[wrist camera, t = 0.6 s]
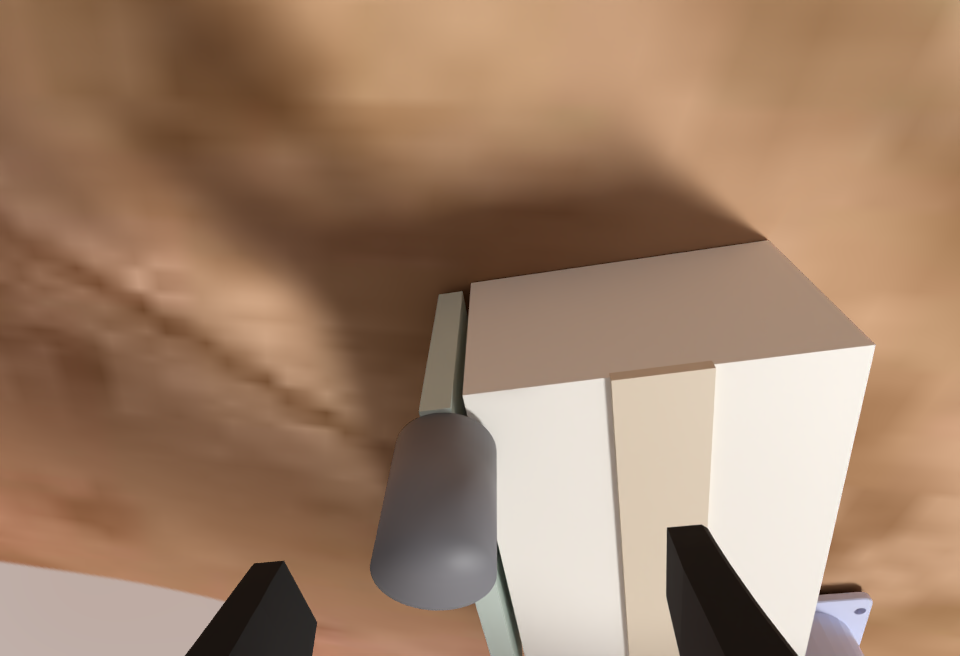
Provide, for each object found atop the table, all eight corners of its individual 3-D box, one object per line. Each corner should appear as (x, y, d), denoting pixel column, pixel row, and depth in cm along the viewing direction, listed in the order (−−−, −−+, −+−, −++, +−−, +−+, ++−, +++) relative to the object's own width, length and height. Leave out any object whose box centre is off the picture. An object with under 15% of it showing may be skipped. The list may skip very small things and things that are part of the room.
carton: (740, 530, 25) (804, 676, 20) (525, 550, 26) (532, 693, 21) (768, 238, 18) (881, 348, 13) (470, 281, 19) (461, 399, 14)
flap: (537, 549, 26) (557, 810, 18) (481, 554, 26) (475, 813, 18) (489, 287, 19) (484, 521, 11) (412, 298, 19) (353, 533, 11)
